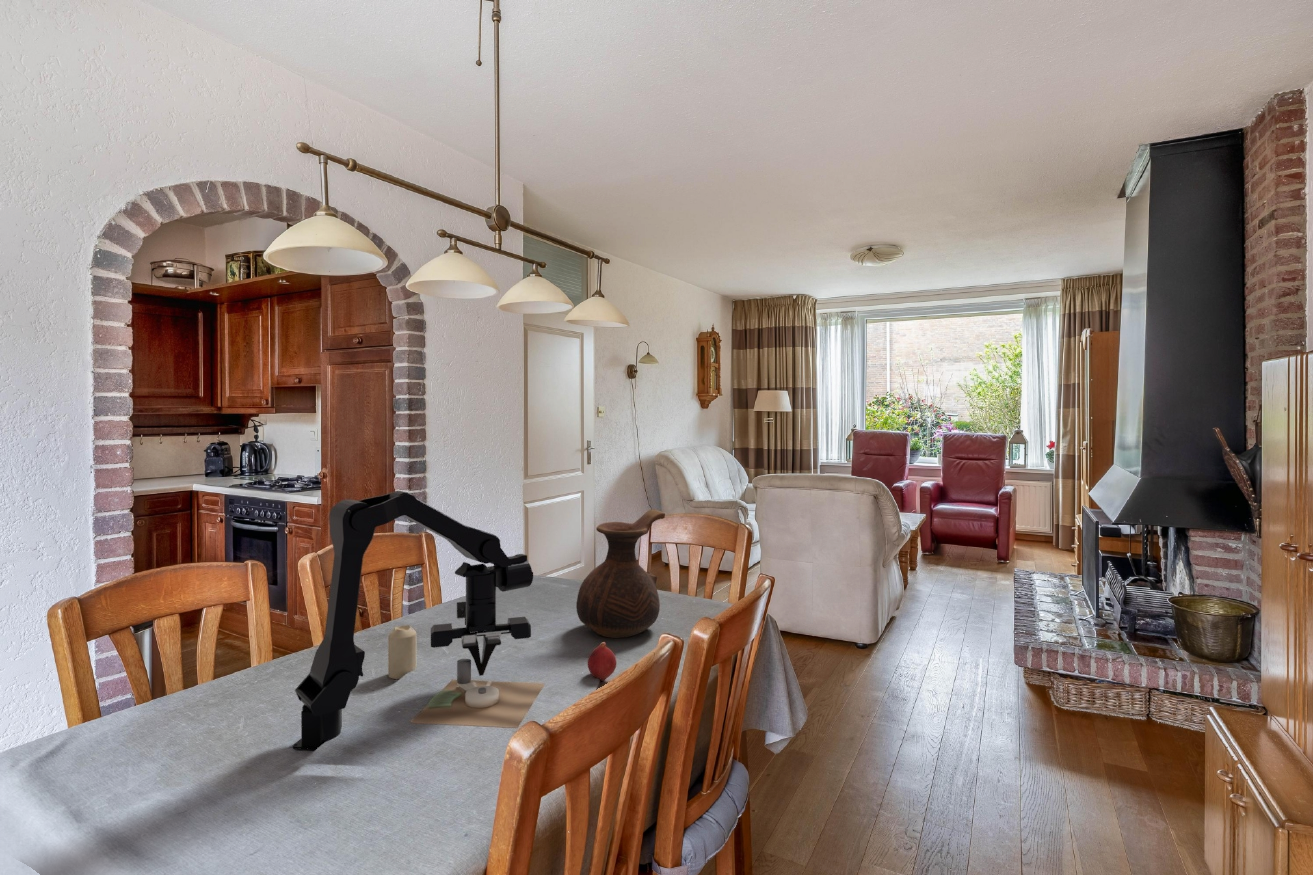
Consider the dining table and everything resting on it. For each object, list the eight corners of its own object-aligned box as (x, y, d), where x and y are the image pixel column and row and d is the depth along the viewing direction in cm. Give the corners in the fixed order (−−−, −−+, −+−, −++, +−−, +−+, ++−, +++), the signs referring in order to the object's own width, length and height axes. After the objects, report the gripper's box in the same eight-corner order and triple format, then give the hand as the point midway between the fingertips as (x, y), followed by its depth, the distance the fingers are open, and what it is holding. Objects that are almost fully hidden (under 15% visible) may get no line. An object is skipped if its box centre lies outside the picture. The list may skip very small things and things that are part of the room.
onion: (590, 687, 133) (590, 648, 133) (585, 676, 139) (585, 638, 139) (618, 684, 135) (619, 645, 135) (612, 674, 141) (613, 636, 140)
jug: (653, 646, 158) (655, 520, 157) (565, 641, 161) (566, 517, 160) (666, 619, 179) (668, 508, 178) (588, 615, 182) (589, 505, 181)
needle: (504, 701, 123) (504, 673, 123) (474, 710, 119) (474, 681, 119) (475, 682, 132) (475, 655, 132) (446, 690, 128) (446, 662, 128)
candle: (406, 680, 136) (406, 632, 136) (382, 678, 137) (382, 630, 137) (421, 670, 142) (421, 623, 141) (398, 668, 143) (398, 622, 142)
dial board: (517, 734, 113) (517, 725, 113) (409, 729, 115) (409, 720, 115) (545, 689, 132) (545, 681, 132) (452, 685, 134) (452, 677, 134)
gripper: (523, 582, 141) (523, 655, 141) (430, 589, 135) (430, 665, 135) (531, 595, 130) (531, 674, 131) (430, 604, 124) (430, 686, 124)
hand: (481, 674), depth 130 cm, fingers closed
